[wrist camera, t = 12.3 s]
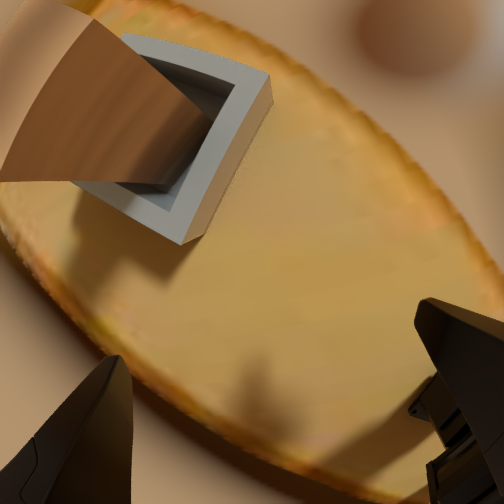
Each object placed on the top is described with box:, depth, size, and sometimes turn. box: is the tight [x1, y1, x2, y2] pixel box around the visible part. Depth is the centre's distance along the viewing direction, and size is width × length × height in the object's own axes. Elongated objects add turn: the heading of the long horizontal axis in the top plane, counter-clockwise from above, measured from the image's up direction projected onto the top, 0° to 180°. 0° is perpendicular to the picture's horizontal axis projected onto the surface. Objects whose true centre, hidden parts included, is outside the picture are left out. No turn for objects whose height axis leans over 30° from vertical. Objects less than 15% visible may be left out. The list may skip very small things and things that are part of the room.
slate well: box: [70, 33, 274, 245], centre depth 15 cm, size 9×9×5 cm
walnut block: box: [0, 0, 214, 185], centre depth 11 cm, size 4×4×13 cm
